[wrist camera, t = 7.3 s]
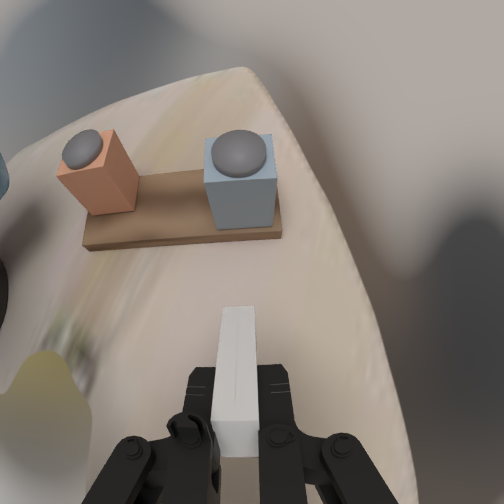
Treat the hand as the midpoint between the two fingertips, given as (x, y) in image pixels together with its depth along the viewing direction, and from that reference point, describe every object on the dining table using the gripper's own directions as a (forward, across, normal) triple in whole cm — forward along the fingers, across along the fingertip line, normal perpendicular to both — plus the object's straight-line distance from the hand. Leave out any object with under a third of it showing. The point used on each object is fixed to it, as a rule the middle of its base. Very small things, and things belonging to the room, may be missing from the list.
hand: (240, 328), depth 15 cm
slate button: (+21, 0, +1) cm, 21 cm away
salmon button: (+23, -16, +3) cm, 28 cm away
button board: (+23, -8, 0) cm, 24 cm away
